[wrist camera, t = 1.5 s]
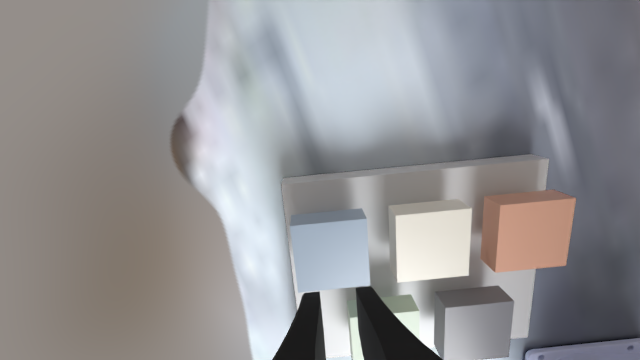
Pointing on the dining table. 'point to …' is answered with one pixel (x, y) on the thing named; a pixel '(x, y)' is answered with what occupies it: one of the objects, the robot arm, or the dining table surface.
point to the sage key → (400, 308)
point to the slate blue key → (330, 250)
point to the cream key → (429, 240)
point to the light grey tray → (374, 198)
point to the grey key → (473, 323)
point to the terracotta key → (526, 230)
